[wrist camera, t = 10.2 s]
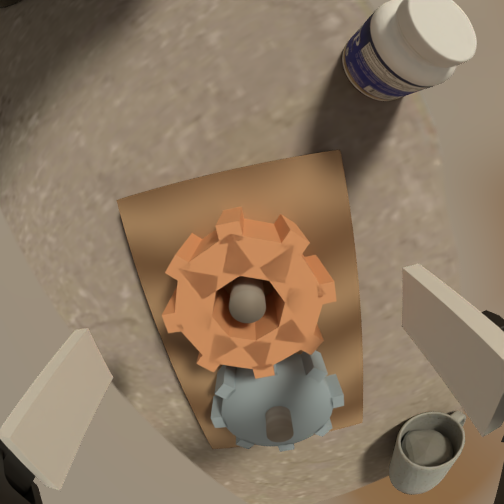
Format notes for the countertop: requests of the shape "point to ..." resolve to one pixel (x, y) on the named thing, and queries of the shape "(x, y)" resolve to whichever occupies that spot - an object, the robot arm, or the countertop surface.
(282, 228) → the terracotta gear
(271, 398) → the slate gear
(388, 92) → the pill bottle
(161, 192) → the walnut board
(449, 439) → the ceramic mug
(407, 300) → the robot arm
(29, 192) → the countertop surface
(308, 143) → the countertop surface
